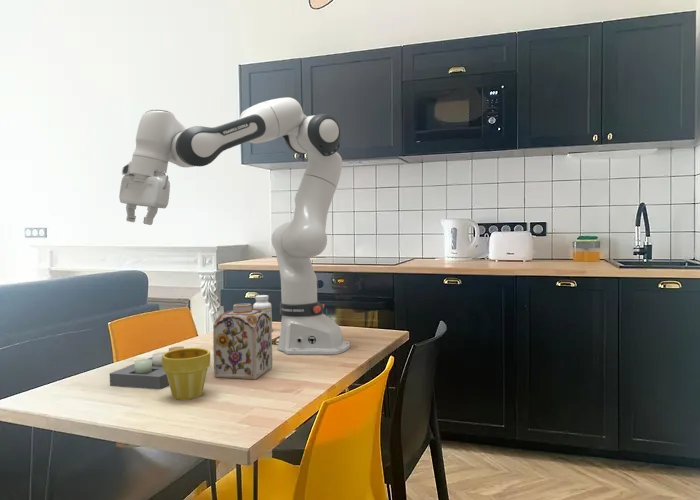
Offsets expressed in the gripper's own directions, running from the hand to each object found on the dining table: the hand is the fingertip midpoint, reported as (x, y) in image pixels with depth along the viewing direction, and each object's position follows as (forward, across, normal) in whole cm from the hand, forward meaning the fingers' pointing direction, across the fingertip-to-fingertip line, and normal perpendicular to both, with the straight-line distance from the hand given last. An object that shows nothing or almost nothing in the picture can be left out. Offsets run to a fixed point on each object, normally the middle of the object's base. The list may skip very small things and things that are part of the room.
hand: (138, 223), depth 141 cm
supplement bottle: (+30, +16, -61) cm, 70 cm away
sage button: (+36, -13, -2) cm, 38 cm away
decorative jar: (+34, -24, -23) cm, 48 cm away
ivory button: (+35, -9, -8) cm, 37 cm away
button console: (+38, -10, -9) cm, 40 cm away
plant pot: (+37, -30, -4) cm, 48 cm away
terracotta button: (+34, -6, -14) cm, 38 cm away
